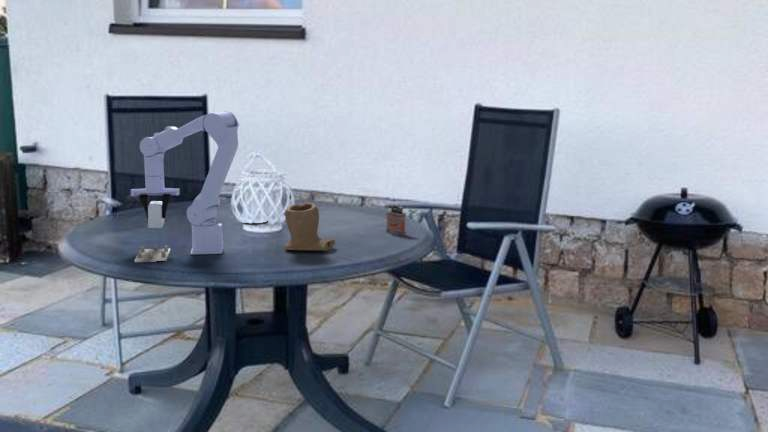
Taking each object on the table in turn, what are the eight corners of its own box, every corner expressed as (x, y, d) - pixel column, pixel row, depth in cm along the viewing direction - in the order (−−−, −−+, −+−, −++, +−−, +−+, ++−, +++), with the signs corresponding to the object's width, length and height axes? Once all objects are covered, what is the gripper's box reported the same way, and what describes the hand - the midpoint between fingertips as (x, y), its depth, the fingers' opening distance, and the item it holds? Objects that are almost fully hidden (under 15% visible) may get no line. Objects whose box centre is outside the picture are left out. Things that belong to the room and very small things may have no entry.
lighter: (407, 234, 274) (408, 206, 272) (401, 235, 272) (401, 207, 270) (390, 230, 280) (390, 202, 278) (384, 232, 277) (384, 204, 275)
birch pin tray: (170, 250, 247) (170, 243, 247) (165, 261, 234) (165, 254, 233) (140, 251, 246) (140, 244, 245) (134, 262, 232) (133, 255, 232)
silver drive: (164, 222, 254) (164, 201, 253) (161, 227, 246) (161, 205, 245) (151, 222, 254) (151, 201, 252) (148, 227, 246) (147, 205, 244)
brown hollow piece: (279, 254, 244) (278, 206, 242) (289, 245, 256) (289, 199, 253) (327, 256, 242) (327, 208, 239) (335, 247, 254) (335, 201, 251)
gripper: (179, 173, 252) (181, 215, 254) (132, 173, 250) (134, 215, 252) (177, 176, 245) (179, 219, 248) (128, 176, 243) (131, 220, 245)
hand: (156, 218), depth 249 cm, fingers closed on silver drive, 4 cm apart
